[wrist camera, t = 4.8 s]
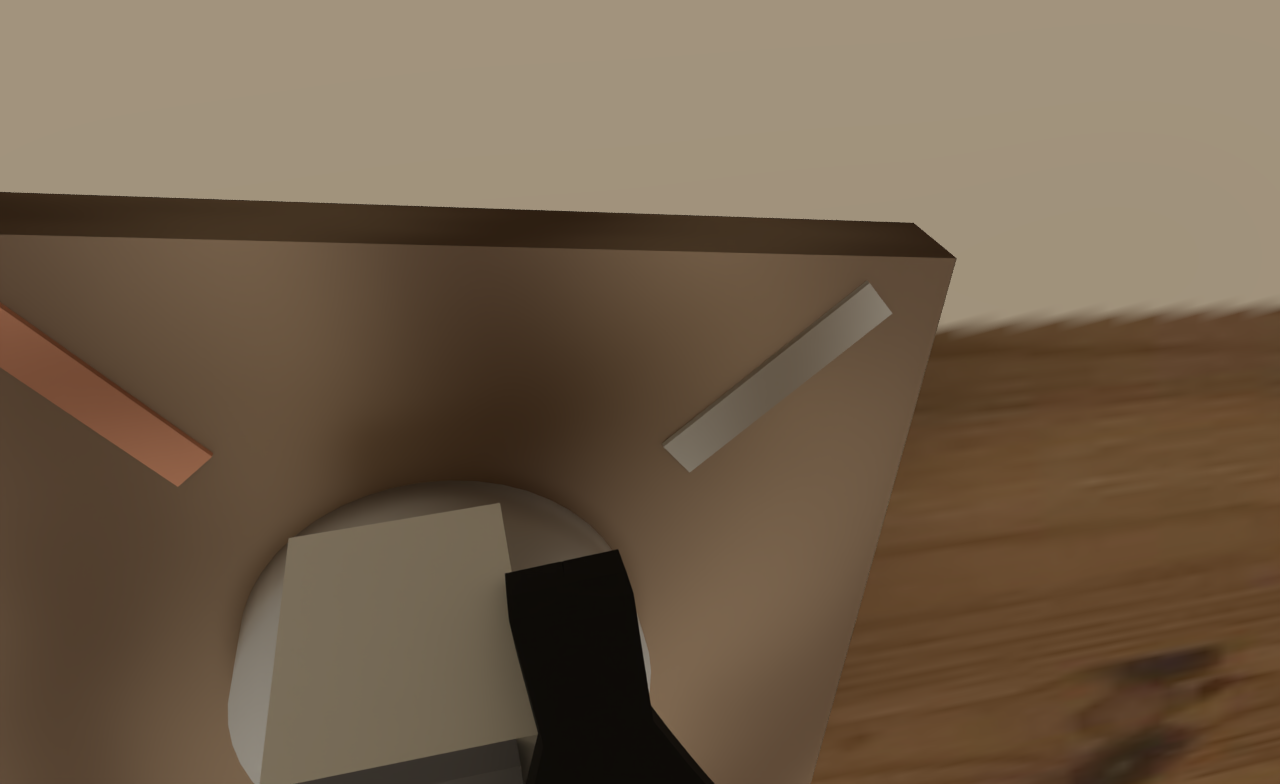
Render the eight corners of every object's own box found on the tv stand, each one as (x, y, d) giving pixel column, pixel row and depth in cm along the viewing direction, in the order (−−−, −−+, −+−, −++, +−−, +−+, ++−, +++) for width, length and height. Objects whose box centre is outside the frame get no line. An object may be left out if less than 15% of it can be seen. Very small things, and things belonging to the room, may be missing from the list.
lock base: (39, 882, 20) (-9, 1040, 18) (-142, 187, 13) (-264, 281, 11) (767, 803, 24) (813, 924, 21) (913, 222, 17) (1007, 299, 14)
